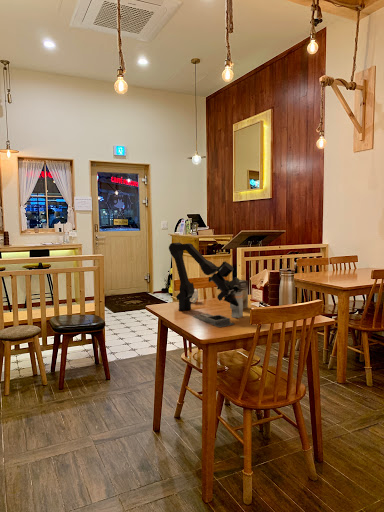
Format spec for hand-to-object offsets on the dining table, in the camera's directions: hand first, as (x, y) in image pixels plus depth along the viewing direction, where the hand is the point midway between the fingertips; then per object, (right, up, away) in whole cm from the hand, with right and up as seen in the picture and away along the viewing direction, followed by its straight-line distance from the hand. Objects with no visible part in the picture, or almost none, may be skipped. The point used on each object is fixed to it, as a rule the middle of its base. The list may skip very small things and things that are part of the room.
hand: (239, 304), depth 198 cm
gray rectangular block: (-1, -7, +1) cm, 7 cm away
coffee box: (+2, -5, +22) cm, 23 cm away
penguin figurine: (-27, -4, +39) cm, 48 cm away
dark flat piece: (-15, -7, -6) cm, 17 cm away
